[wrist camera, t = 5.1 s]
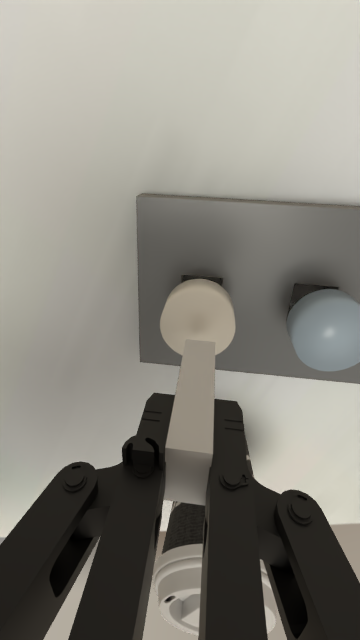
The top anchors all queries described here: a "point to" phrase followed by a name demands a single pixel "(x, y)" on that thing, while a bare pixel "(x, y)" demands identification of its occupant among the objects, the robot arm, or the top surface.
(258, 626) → the robot arm
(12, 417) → the top surface
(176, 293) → the button cream
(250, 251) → the panel
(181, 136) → the top surface
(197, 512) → the coffee cup
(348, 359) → the button blue
